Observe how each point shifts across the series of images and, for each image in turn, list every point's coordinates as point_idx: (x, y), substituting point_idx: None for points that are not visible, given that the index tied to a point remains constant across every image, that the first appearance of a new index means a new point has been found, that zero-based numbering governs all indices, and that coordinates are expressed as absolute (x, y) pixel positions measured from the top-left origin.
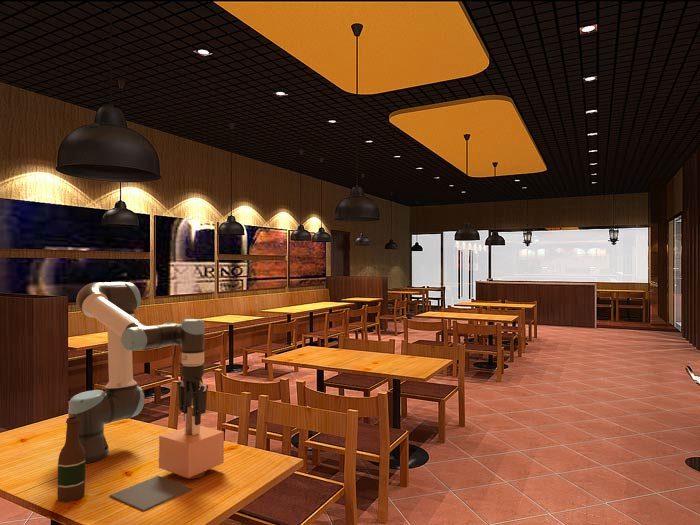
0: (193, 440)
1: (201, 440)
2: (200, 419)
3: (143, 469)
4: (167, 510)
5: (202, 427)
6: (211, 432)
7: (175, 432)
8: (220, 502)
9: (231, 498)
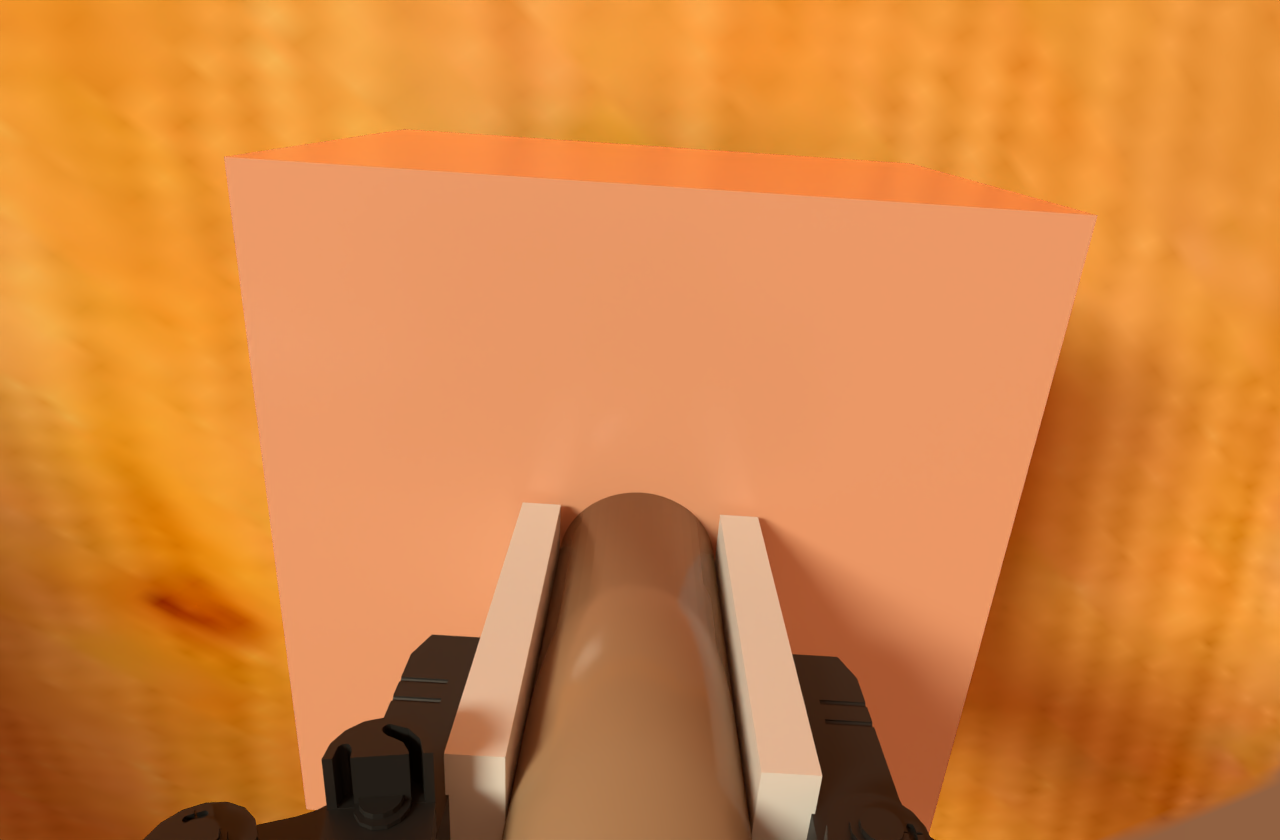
0: (885, 739)
1: (969, 666)
2: (873, 735)
3: (215, 508)
4: (945, 818)
5: (530, 237)
6: (900, 370)
7: (364, 635)
8: (1224, 618)
9: (1276, 542)
